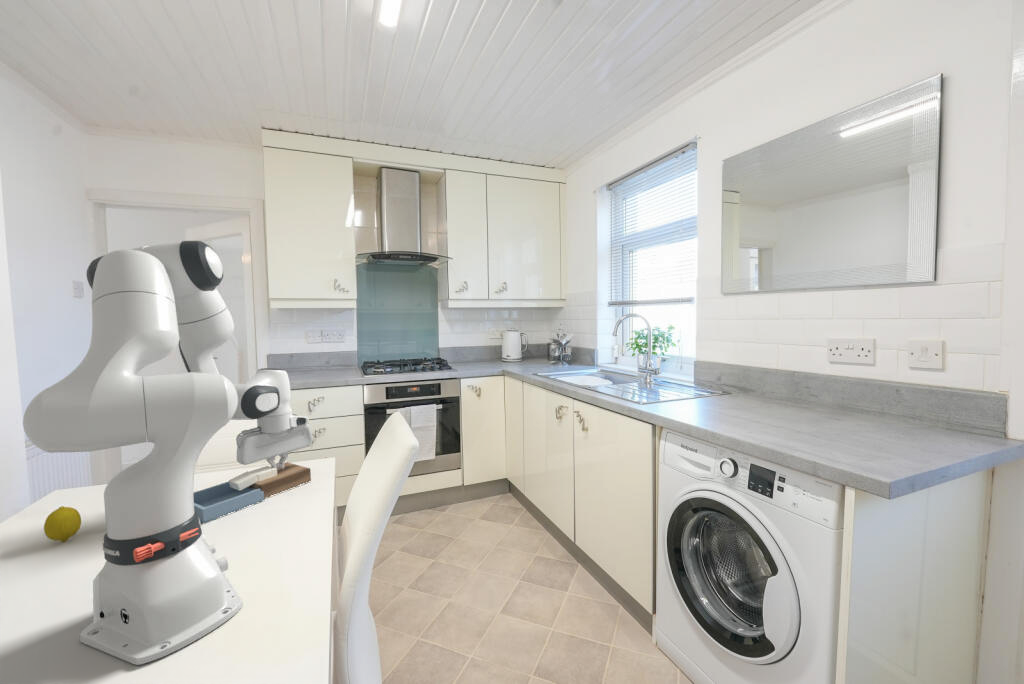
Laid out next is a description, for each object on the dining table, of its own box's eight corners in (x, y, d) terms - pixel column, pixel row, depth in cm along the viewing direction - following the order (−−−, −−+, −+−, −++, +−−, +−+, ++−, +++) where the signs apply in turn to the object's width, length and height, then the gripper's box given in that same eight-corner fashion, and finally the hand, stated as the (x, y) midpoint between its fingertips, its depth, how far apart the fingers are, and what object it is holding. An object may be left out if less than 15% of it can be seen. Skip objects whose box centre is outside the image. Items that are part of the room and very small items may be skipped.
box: (264, 500, 109) (263, 488, 109) (203, 523, 97) (202, 509, 97) (237, 490, 116) (236, 478, 116) (178, 511, 104) (177, 497, 104)
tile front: (258, 480, 112) (257, 474, 112) (239, 490, 108) (237, 484, 107) (249, 477, 115) (247, 471, 114) (230, 487, 110) (228, 480, 110)
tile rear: (277, 475, 116) (276, 468, 116) (259, 481, 112) (258, 474, 112) (267, 472, 119) (267, 465, 119) (249, 478, 115) (249, 471, 115)
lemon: (43, 551, 87) (40, 515, 86) (48, 541, 91) (45, 506, 90) (80, 541, 90) (77, 506, 90) (84, 532, 94) (81, 498, 94)
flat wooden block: (311, 481, 122) (310, 468, 121) (262, 500, 110) (261, 485, 109) (287, 474, 128) (287, 462, 127) (239, 491, 116) (238, 477, 115)
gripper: (241, 433, 108) (245, 484, 108) (314, 416, 125) (316, 460, 126) (230, 430, 111) (233, 480, 111) (302, 414, 128) (304, 457, 129)
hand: (278, 469), depth 119 cm, fingers closed
